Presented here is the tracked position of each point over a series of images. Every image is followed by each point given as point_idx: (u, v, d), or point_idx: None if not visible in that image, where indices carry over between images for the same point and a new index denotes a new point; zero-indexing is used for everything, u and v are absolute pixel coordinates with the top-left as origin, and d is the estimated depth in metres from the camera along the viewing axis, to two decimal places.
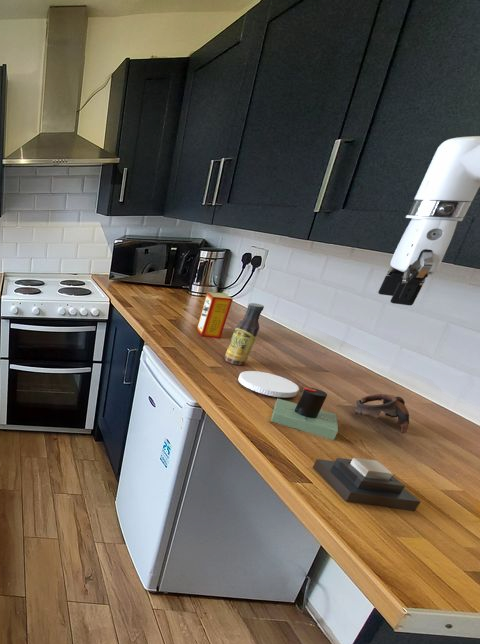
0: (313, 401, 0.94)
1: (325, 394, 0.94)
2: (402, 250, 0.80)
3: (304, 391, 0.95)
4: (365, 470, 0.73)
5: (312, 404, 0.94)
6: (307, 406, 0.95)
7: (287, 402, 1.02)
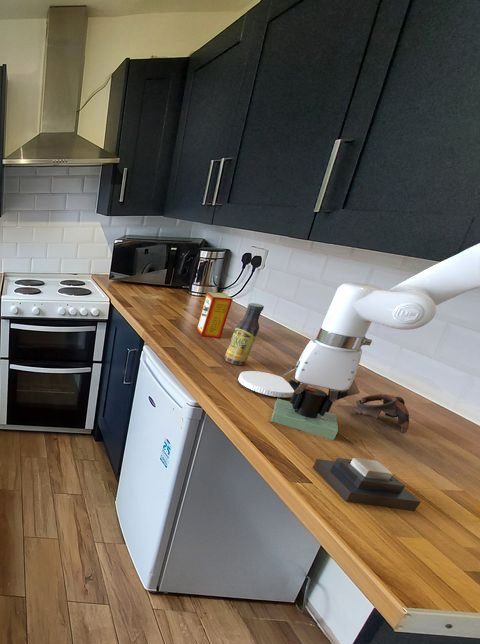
0: (313, 401, 0.94)
1: (325, 394, 0.94)
2: (333, 374, 0.90)
3: (304, 391, 0.95)
4: (365, 470, 0.73)
5: (312, 404, 0.94)
6: (307, 406, 0.95)
7: (287, 402, 1.02)
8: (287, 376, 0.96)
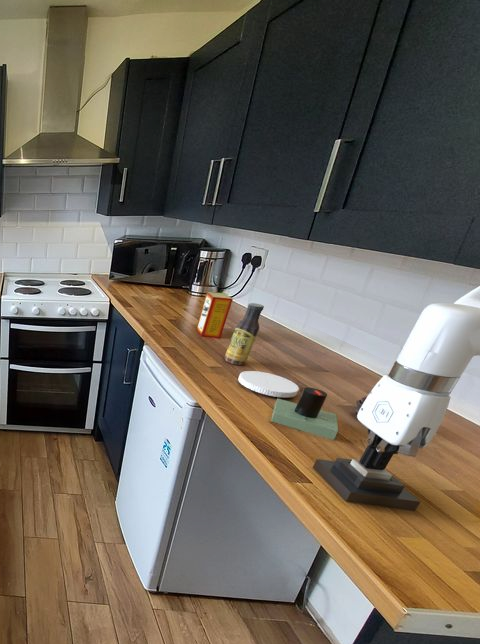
0: None
1: (312, 388, 0.96)
2: None
3: (324, 397, 0.93)
4: (364, 472, 0.73)
5: None
6: None
7: (287, 402, 1.02)
8: None
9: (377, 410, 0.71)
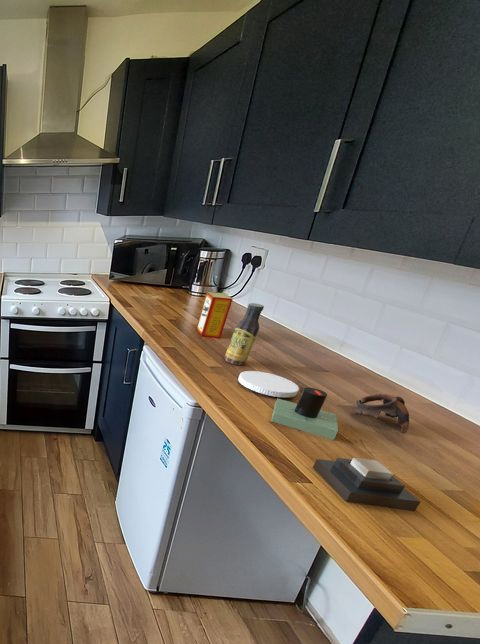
0: None
1: (312, 388, 0.96)
2: None
3: (324, 397, 0.93)
4: (365, 470, 0.73)
5: None
6: None
7: (287, 402, 1.02)
8: None
9: None
